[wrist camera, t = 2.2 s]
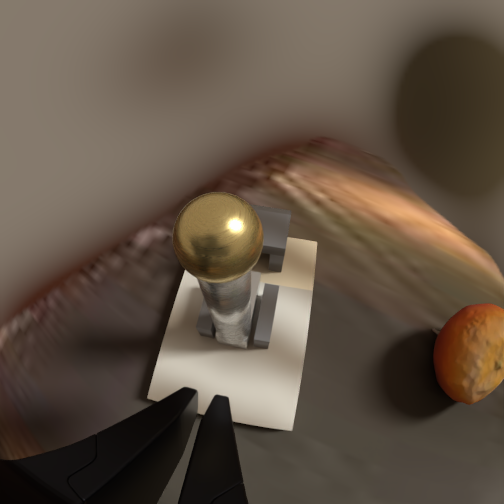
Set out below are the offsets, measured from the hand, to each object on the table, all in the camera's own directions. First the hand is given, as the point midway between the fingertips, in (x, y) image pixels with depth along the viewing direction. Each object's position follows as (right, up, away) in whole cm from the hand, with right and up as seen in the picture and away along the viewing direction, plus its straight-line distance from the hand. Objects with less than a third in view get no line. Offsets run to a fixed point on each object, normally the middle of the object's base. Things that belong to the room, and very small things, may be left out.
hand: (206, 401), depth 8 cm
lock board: (0, -1, +14) cm, 14 cm away
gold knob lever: (0, 0, +13) cm, 13 cm away
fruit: (+19, -6, +12) cm, 23 cm away
